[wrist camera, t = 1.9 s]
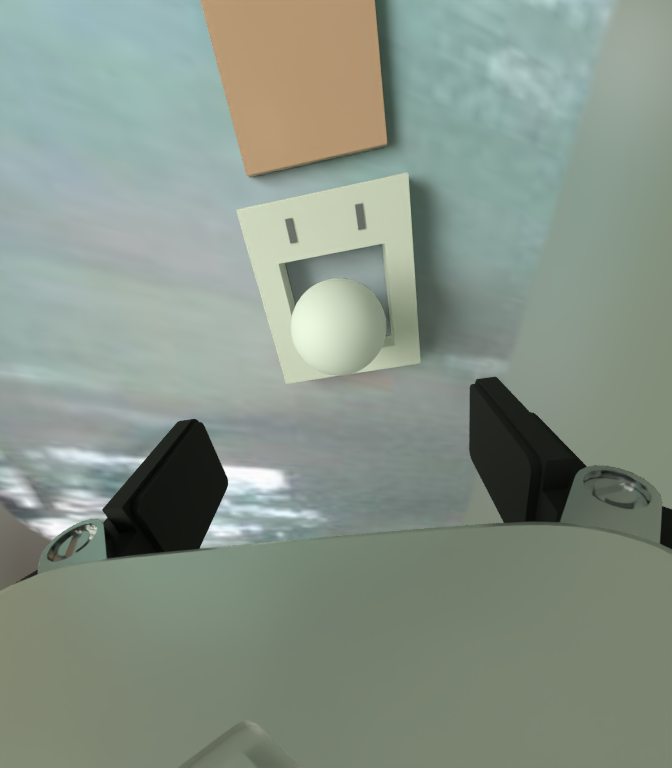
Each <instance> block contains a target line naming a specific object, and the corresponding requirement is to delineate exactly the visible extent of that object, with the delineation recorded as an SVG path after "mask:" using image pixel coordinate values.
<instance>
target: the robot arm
mask: <svg viewBox="0 0 672 768" xmlns="http://www.w3.org/2000/svg"><path fill="white" fill-rule="evenodd" d="M469 450H470V456H471V459H472V461H473V463H474V465H475V467H476V469H477V471H478V473H479V475H480V477H481V479H482V481H483V483H484V484H485V487H486V489H487V490H488V492H489V494H490V496H491V498H492V500H493V502H494V504H495V506H496V508H497V510H498V512H499V514H500V516H501V518H502V519H503V522H504V523H492V524H476V525H464V526H451V527H437V528H425V529H413V530H402V531H390V532H378V533H366V534H354V535H343V536H332V537H321V538H309V539H298V540H287V541H276V542H265V543H255V544H244V545H233V546H223V547H213V548H202V549H199V548H200V546H201V544H202V542H203V539H204V537H205V535H206V533H207V531H208V529H209V526H210V524H211V522H212V520H213V518H214V516H215V513H216V511H217V509H218V507H219V505H220V502H221V500H222V498H223V496H224V494H225V492H226V489H227V486H228V479H227V476H226V474H225V472H224V469H223V467H222V465H221V463H220V460H219V458H218V456H217V454H216V451H215V449H214V447H213V445H212V442H211V440H210V438H209V435H208V433H207V431H206V429H205V426H204V425H203V423H201V422H199V421H198V420H196V419H191V420H184V421H179V422H177V423H176V424H175V426H174V427H173V428H172V429H171V430H170V431H169V433H168V434H167V435H166V436H165V437H164V438H163V440H162V441H161V442H160V443H159V444H158V445H157V447H156V448H155V449H154V450H153V451H152V452H151V454H150V455H149V456H148V457H147V458H146V459H145V461H144V462H143V463H142V464H141V465H140V466H139V468H138V469H137V470H136V471H135V472H134V473H133V475H132V476H131V477H130V478H129V479H128V480H127V482H126V483H125V484H124V485H123V486H122V487H121V489H120V490H119V491H118V492H117V493H116V494H115V495H114V497H113V498H112V499H111V500H110V501H109V502H108V504H107V505H106V506H105V507H104V508H103V509H102V510H103V512H104V513H105V514H106V516H107V517H108V518H107V519H106V520H105V521H104V523H103V522H102V521H101V520H99V519H89V520H86V521H82V522H80V523H78V524H75V525H73V526H72V527H70V528H68V529H67V530H65V531H63V532H62V533H61V534H60V535H58V536H57V537H56V538H55V539H54V540H53V541H52V542H51V543H49V545H47V547H46V548H45V550H44V551H43V552H42V555H41V557H40V560H39V567H38V570H36V571H35V572H33V573H31V574H30V575H28V576H26V577H25V578H23V579H21V580H20V581H18V582H16V583H15V584H13V585H11V586H10V587H8V588H6V589H4V590H2V591H0V768H672V509H669V508H666V507H663V506H662V499H661V495H660V493H659V492H658V491H657V490H656V488H655V487H654V486H653V485H651V484H650V483H649V482H647V481H646V480H645V479H643V478H641V477H639V476H638V475H635V474H634V473H632V472H629V471H626V470H623V469H620V468H615V467H610V466H597V465H595V466H589V467H586V465H585V464H583V462H582V461H581V460H580V459H579V458H578V457H577V456H576V455H575V454H574V453H573V452H572V451H571V450H570V449H569V448H568V447H567V446H566V445H565V444H564V443H563V442H562V441H561V440H560V439H559V438H558V436H557V435H555V433H553V431H552V430H551V429H550V428H549V427H548V426H547V425H546V424H545V423H544V422H543V421H542V420H541V419H540V418H539V417H538V416H537V415H536V414H534V413H531V412H529V411H528V410H527V409H526V408H525V407H524V406H523V404H522V403H521V402H520V401H518V399H517V398H516V397H515V396H514V395H513V394H512V393H511V392H510V391H509V390H508V389H507V388H506V387H505V386H504V384H503V383H502V382H501V381H500V380H499V379H498V378H497V377H490V378H483V379H477V380H476V382H475V384H471V386H470V441H469Z"/></svg>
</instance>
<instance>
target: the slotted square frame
mask: <svg viewBox="0 0 672 768" xmlns="http://www.w3.org/2000/svg"><path fill="white" fill-rule="evenodd" d="M236 211H237V215H238V218H239V222H240V225H241V229H242V232H243V236H244V239H245V243H246V246H247V249H248V253H249V256H250V260H251V263H252V267H253V270H254V274H255V277H256V281H257V284H258V288H259V291H260V295H261V298H262V301H263V305H264V308H265V312H266V315H267V319H268V322H269V326H270V329H271V333H272V336H273V340H274V343H275V347H276V350H277V354H278V357H279V360H280V364H281V367H282V371H283V374H284V378H285V381H286V384H287V383H294V382H300V381H307V380H314V379H320V378H327V377H333V376H337V375H329V374H325V373H322V372H319V371H317V370H315V369H314V368H312V367H311V366H309V365H308V364H307V363H306V362H305V361H304V360H303V359H302V358H301V356H300V355H299V353H298V352H297V350H296V348H295V346H294V343H293V340H292V335H291V318H292V313H293V311H294V308H295V302H294V298H293V294H292V290H291V286H290V282H289V278H288V274H287V269H286V265H285V263H286V262H291V261H296V260H301V259H306V258H311V257H317V256H322V255H327V254H332V253H337V252H342V251H347V250H353V249H358V248H363V247H368V246H373V245H378V244H382V252H383V261H384V271H385V280H386V289H387V299H388V308H389V317H390V327H391V336H386V337H385V340H384V343H383V345H382V348H381V350H380V352H379V353H378V355H377V356H376V357H375V359H374V360H373V361H372V362H371V363H370V364H369V365H367V366H366V367H365V368H363V369H361V370H359V371H357V372H355V373H360V372H366V371H373V370H380V369H386V368H393V367H399V366H406V365H413V364H419V363H421V361H420V345H419V330H418V315H417V299H416V284H415V269H414V253H413V238H412V223H411V207H410V192H409V176H408V173H403V174H399V175H394V176H390V177H385V178H380V179H376V180H371V181H367V182H362V183H357V184H353V185H348V186H344V187H339V188H334V189H330V190H325V191H320V192H316V193H311V194H307V195H302V196H297V197H293V198H288V199H284V200H279V201H274V202H270V203H265V204H261V205H256V206H251V207H247V208H242V209H238V210H236ZM352 374H353V373H352Z"/></svg>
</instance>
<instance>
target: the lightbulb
mask: <svg viewBox="0 0 672 768" xmlns="http://www.w3.org/2000/svg"><path fill="white" fill-rule="evenodd" d="M291 335H292V340H293V343H294V346H295V348H296V350H297V352H298V353H299V355H300V356H301V358H302V359H303V360H304V361H305V362H306V363H307V364H308V365H309V366H311V367H312V368H314V369H315V370H317V371H319V372H322V373H325V374H329V375H337V376H341V375H348V374H352V373H355V372H357V371H359V370H361V369H363V368H365V367H366V366H367V365H369V364H370V363H371V362H372V361H373V360H374V359H375V357H376V356H377V355H378V353H379V352H380V350H381V348H382V345H383V343H384V340H385V335H386V318H385V314H384V310H383V308H382V306H381V304H380V302H379V300H378V299H377V297H376V296H375V295H374V294H373V292H371V291H370V290H369V289H368V288H367V287H365V286H364V285H362V284H360V283H358V282H355V281H352V280H349V279H340V278H336V279H328V280H325V281H322V282H319V283H317V284H315V285H314V286H312V287H310V288H309V289H308V290H307V291H306V292H305V293H304V294H303V295H302V296H301V298H300V299H299V301H298V302H297V304H296V306H295V308H294V311H293V313H292V318H291Z"/></svg>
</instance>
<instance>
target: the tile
mask: <svg viewBox="0 0 672 768" xmlns="http://www.w3.org/2000/svg"><path fill="white" fill-rule="evenodd" d="M201 4H202V8H203V11H204V15H205V19H206V23H207V27H208V30H209V34H210V38H211V42H212V46H213V49H214V53H215V57H216V61H217V65H218V68H219V72H220V76H221V80H222V84H223V87H224V91H225V95H226V99H227V103H228V106H229V110H230V114H231V118H232V122H233V125H234V129H235V133H236V137H237V141H238V144H239V148H240V152H241V156H242V160H243V163H244V167H245V171H246V175H247V176H249V177H254V176H258V175H263V174H267V173H272V172H276V171H280V170H285V169H289V168H294V167H298V166H302V165H307V164H311V163H316V162H320V161H324V160H329V159H333V158H337V157H342V156H346V155H351V154H355V153H359V152H364V151H368V150H373V149H377V148H381V147H386V145H387V135H386V123H385V112H384V100H383V89H382V77H381V66H380V55H379V43H378V32H377V20H376V9H375V0H201Z"/></svg>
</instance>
